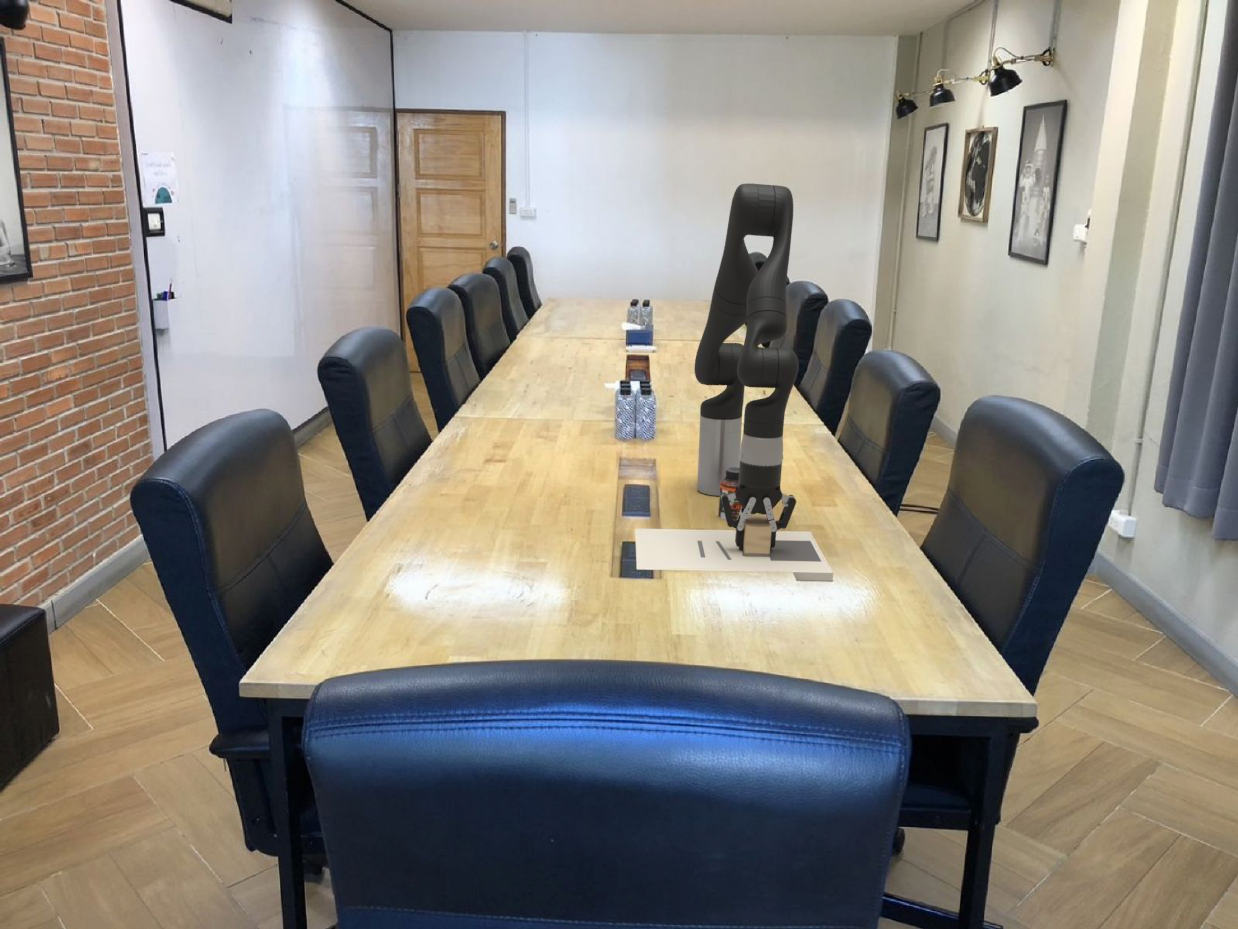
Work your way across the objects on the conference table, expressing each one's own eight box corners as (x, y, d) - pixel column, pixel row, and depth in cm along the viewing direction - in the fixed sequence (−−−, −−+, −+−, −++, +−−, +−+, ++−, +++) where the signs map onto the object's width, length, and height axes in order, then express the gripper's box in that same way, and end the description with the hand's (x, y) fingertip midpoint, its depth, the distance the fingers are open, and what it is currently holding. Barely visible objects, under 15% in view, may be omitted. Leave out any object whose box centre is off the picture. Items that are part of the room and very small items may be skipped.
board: (634, 535, 198) (635, 528, 197) (809, 539, 198) (810, 531, 197) (636, 577, 176) (636, 569, 176) (832, 581, 177) (833, 572, 176)
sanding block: (740, 543, 190) (742, 514, 189) (764, 543, 190) (766, 515, 189) (744, 556, 183) (746, 527, 182) (769, 556, 183) (771, 527, 182)
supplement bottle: (724, 528, 203) (727, 474, 200) (713, 519, 208) (716, 466, 205) (752, 526, 204) (755, 472, 201) (741, 517, 210) (743, 464, 207)
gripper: (797, 454, 186) (790, 543, 190) (719, 452, 186) (713, 540, 190) (804, 465, 179) (796, 557, 183) (723, 462, 178) (717, 554, 183)
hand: (754, 548), depth 187 cm, fingers closed on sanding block, 4 cm apart
